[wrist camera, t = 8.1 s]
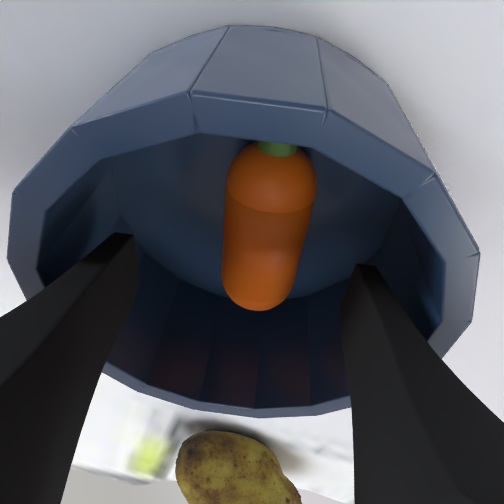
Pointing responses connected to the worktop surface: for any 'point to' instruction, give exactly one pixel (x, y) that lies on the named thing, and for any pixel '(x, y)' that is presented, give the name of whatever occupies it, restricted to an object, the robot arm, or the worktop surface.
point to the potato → (231, 471)
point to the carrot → (265, 222)
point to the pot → (212, 218)
